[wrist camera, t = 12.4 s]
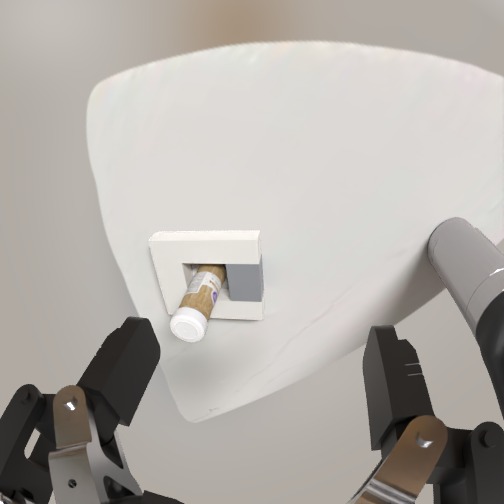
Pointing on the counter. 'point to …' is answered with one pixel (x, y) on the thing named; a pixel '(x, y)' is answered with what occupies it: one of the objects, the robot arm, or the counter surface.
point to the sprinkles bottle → (198, 303)
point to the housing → (212, 252)
